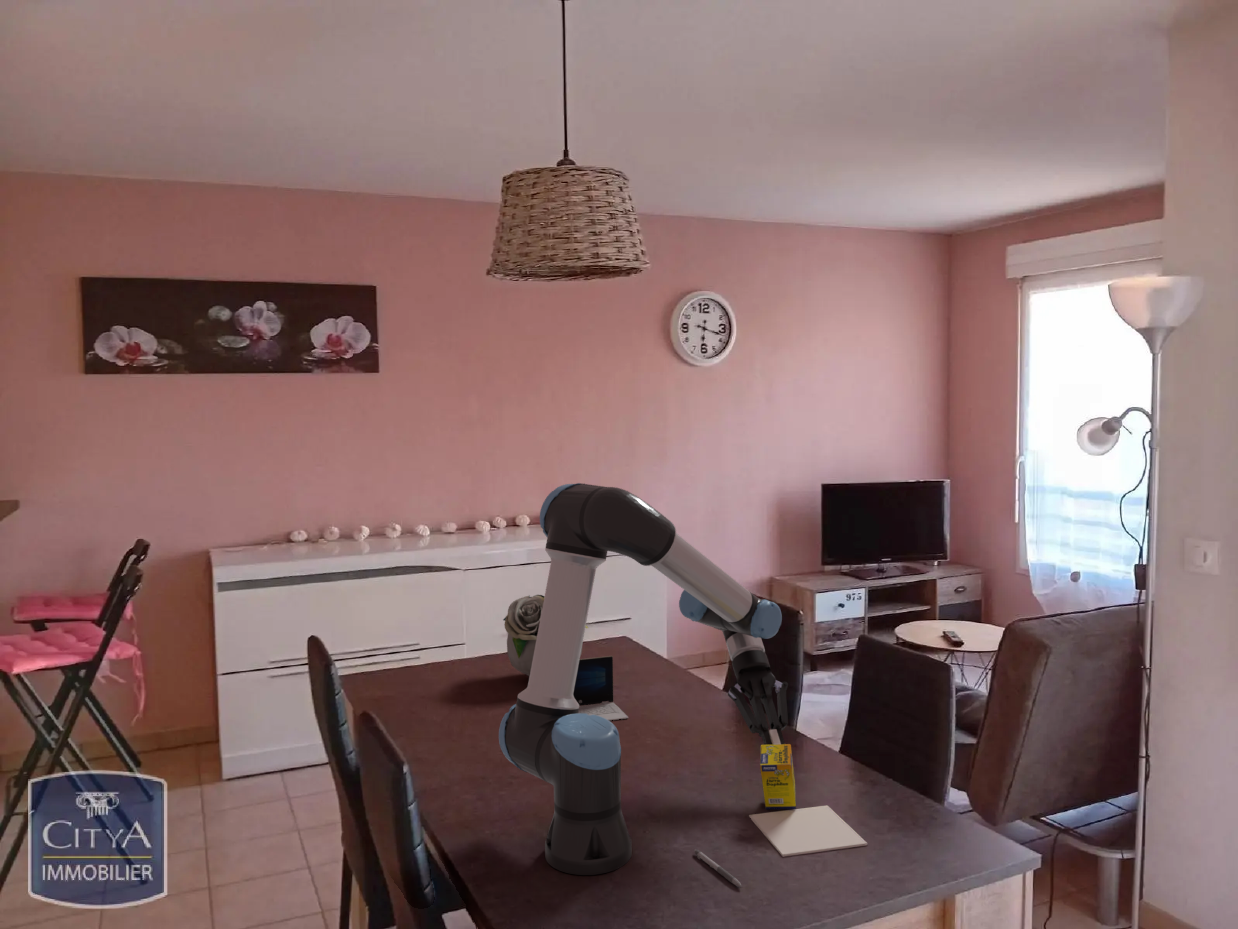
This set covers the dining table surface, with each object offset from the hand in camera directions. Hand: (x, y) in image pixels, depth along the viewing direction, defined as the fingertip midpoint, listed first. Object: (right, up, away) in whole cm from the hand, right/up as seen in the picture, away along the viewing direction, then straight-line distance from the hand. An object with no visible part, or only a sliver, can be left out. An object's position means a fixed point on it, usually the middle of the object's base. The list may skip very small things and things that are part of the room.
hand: (780, 763), depth 187 cm
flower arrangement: (-52, -2, +82) cm, 97 cm away
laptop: (-40, -5, +52) cm, 66 cm away
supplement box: (0, -7, -1) cm, 7 cm away
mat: (+3, -8, -12) cm, 15 cm away
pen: (-15, -10, -27) cm, 32 cm away
